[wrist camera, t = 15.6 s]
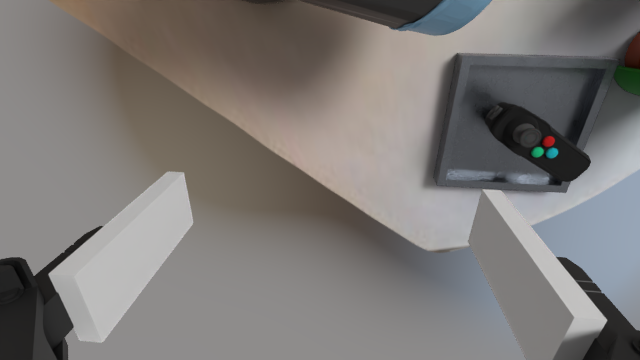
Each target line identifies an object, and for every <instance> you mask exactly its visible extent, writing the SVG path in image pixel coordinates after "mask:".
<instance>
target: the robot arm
mask: <svg viewBox="0 0 640 360" xmlns="http://www.w3.org/2000/svg"><path fill="white" fill-rule="evenodd" d="M243 1H246V2H251V3H257V4H274V3H279V2H282V1H285V0H243ZM299 1H303V2H306V3H310V4H313V5H316V6H320V7H323V8H327V9H330V10H334V11H337V12H341V13H344V14H347V15H351V16H354V17H358V18H361V19H365V20H368V21H372V22H375V23H378V24H382V25H385V26H388V27H389V28H391V29H393V30H399V31H406V30H409V31H414V32H419V33H423V34H428V35H434V36H437V35H445V34H449V33H451V32H454V31H456V30H458V29H460V28H462V27H463V26H465V25H466V24H467V23H469V22H470V21H471V20H473V19H474V18H475V17H476V16H477V15H478V14H479V13H480V12H481V11H482V10H483V9H484V8H485V7H486V6H487V5H488V4H489V3H490V2H491V1H492V0H299ZM192 224H193V218H192V213H191V207H190V202H189V197H188V192H187V186H186V181H185V176H184V173H183V172H167V173H165V174H164V175H163V176H162V177H161V178H160V179H158V180H157V181H156V182H155V183H154V184H153V185H151V186H150V187H149V188H148V189H147V190H146V191H145V192H143V193H142V194H141V195H140V196H139V197H137V198H136V199H135V200H134V201H133V202H132V203H130V204H129V205H128V206H127V207H126V208H125V209H124V210H122V211H121V212H120V213H119V214H118V215H117V216H115V217H114V218H113V219H112V220H111V221H110V222H108V223H107V224H106V225H105V226H99V227H97V228H96V229H94V230H92V231H90V232H88V233H86V234H84V235H83V236H82V237H81V238H80V239H78V240H77V241H76V242H75V243H74V245H71V246H70V247H69V248H67V249H66V250H65V252H64V253H61V254H60V255H59V256H58V257H57V258H55V259H54V260H53V261H52V262H51V263H49V264H48V265H47V266H46V267H44V268H43V269H42V270H41V271H40V272H39V273H37V274H36V275H35V276H33V274H32V272H31V270H30V268H29V266H28V264H27V262H26V260H25V259H22V258H20V257H17V258H13V257H12V258H6V259H1V260H0V360H68V345H67V342H66V340H65V338H64V337H65V336H66V335H67V334H68V333H69V332H70V331H71V330H72V328H74V330H75V332H76V334H77V336H78V339H79V341H89V342H100V343H103V341H104V340H105V339H106V337H107V336H108V335H109V333H110V332H111V331H112V329H113V328H114V327H115V325H116V324H117V323H118V321H119V320H120V319H121V318H122V316H123V315H124V314H125V312H126V311H127V310H128V308H129V307H130V306H131V304H132V303H133V302H134V300H135V299H136V298H137V297H138V295H139V294H140V292H141V291H142V290H143V289H144V287H145V286H146V285H147V283H148V282H149V280H150V279H151V278H152V277H153V275H154V274H155V273H156V272H157V270H158V269H159V268H160V266H161V265H162V263H163V262H164V261H165V260H166V258H167V257H168V256H169V254H170V253H171V252H172V251H173V249H174V248H175V246H176V245H177V244H178V243H179V241H180V240H181V239H182V237H183V236H184V235H185V233H186V232H187V231H188V230H189V228H190V227H191V225H192ZM468 242H469V245H470V247H471V249H472V251H473V253H474V254H475V257H476V259H477V261H478V263H479V265H480V267H481V269H482V271H483V273H484V275H485V277H486V279H487V281H488V283H489V285H490V287H491V289H492V291H493V293H494V295H495V297H496V299H497V301H498V303H499V305H500V307H501V309H502V311H503V313H504V315H505V318H506V319H507V322H508V324H509V326H510V327H511V329H512V331H513V334H514V336H515V338H516V340H517V342H518V344H519V346H520V348H521V350H522V352H523V354H524V356H525V358H526V360H640V331H638V330H636V329H635V328H634V327H633V326H632V325H631V324H630V323H629V322H628V321H627V319H626V318H625V317H624V316H623V315H622V314H621V312H620V311H619V310H618V309H617V308H616V307H615V306H614V305H613V303H612V302H611V301H610V300H609V299H608V298H607V297H606V296H605V294H603V293H601V290H600V289H599V288H598V286H597V285H596V284H595V283H593V282H592V280H591V279H590V278H589V277H588V275H587V274H586V273H585V272H584V271H583V270H582V269H581V268H580V267H579V266H577V265H576V264H574V263H573V262H571V261H570V260H568V259H567V258H563V257H555V256H554V255H553V253H552V252H551V251H550V250H549V248H548V247H547V246H546V245H545V244H544V242H543V241H542V240H541V239H540V237H539V236H538V235H537V234H536V232H535V231H534V230H533V229H532V228H531V226H530V225H529V224H528V223H527V221H526V220H525V219H524V218H523V217H522V215H521V214H520V213H519V212H518V210H517V209H516V208H515V207H514V206H513V204H512V203H511V202H510V201H509V199H508V198H507V197H506V196H505V195H504V193H503V192H502V191H501V190H487V189H482V192H481V196H480V199H479V203H478V207H477V210H476V214H475V218H474V222H473V225H472V229H471V233H470V236H469V240H468Z"/></svg>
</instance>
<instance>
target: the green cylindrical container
mask: <svg viewBox="0 0 640 360" xmlns="http://www.w3.org/2000/svg"><path fill="white" fill-rule="evenodd" d="M624 64H625V67H624V66H617V68H616V71H615V73H614V78H615V80H616V82H617V83H618V85H619V86H620V87H621V88H623V89H624V90H626V91H627V92H629V93H632V94H636V95H639V96H640V32H639V33H638V34H637V35H636V36H635V38H634V39H633V40H632V42H631V43H630V45H629V47H628V49H627V52H626V55H625V61H624Z"/></svg>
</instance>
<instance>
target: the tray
mask: <svg viewBox="0 0 640 360" xmlns="http://www.w3.org/2000/svg"><path fill="white" fill-rule="evenodd" d="M619 61H620V60H619V59H613V58H608V57H588V56H550V55H512V54H473V53H457V57H456V62H455V67H454V73H453V78H452V83H451V88H450V93H449V99H448V104H447V109H446V114H445V120H444V125H443V130H442V135H441V140H440V146H439V151H438V156H437V161H436V167H435V172H434V177H433V178H434V180H435V182H436V184H437V186H454V187H472V188H490V189H508V190H525V191H543V192H561V193H566V192H567V189H568V187H569V184H570V182H571V181H570V182H564V181H560V180H558V179H557V178H555V177H553V176H552V175H550V174H549V173H547V172H545V171H544V170H542V169H541V168H539V167H538V166H536V165H534V164H533V163H531V162H530V161H528V160H526V159H525V158H523V157H522V156H518V155H517V154H515V153H514V152H512V151H511V150H510V149H508V148H507V147H506V146H505V145H503V144H502V143H501V142H500V141H498V140H497V139H496V138H495V137H494V136H493V135H492V133H491V132H490V131H489V129H488V126H487V125H486V124H485V118H486V116H487V114H488V113H489V112H490V111H491V109H492V108H493V107H494V106H496V105H497V104H498V103H500V102H506V103H508V104H515V105H517V106H521V107H523V108H525V109H527V110H528V111H530V112H532V113H533V114H535V115H536V116H538V117H540V118H541V119H543V120H545V121H546V122H547V123H548V124H550V126H551V127H552V128H553V129H555V130H556V131H557V132H558V133H560V134H561V135H562V136H564V137H565V138H566V139H567V140H569V141H570V142H571V143H573V144H574V145H575V146H576V147H578V148H579V149H580V150H582V151H583V150H584V147H585V145H586V142H587V140H588V137H589V135H590V132H591V130H592V128H593V125H594V123H595V120H596V118H597V115H598V113H599V110H600V108H601V105H602V103H603V100H604V98H605V95H606V93H607V91H608V88H609V86H610V83H611V81H612V78H613V76H614V73H615V71H616V68H617V66H618V63H619Z"/></svg>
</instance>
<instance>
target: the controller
mask: <svg viewBox="0 0 640 360" xmlns="http://www.w3.org/2000/svg"><path fill="white" fill-rule="evenodd" d="M485 124H486V125H487V126H488V129H489V131H490V132H491V133H492V135H493V136H494V137H495V138H496V139H497V140H498V141H500V142H501V143H502V144H503V145H505V146H506V147H507V148H508V149H510V150H511V151H512V152H514V153H515V154H517V155H518V156H522V157H523V158H525V159H526V160H528V161H530V162H531V163H533V164H534V165H536V166H538V167H539V168H541V169H542V170H544V171H545V172H547V173H549V174H550V175H552V176H553V177H555V178H557V179H558V180H560V181H564V182H570V181H573V180H574V179H576V178H577V177H578V176H580V175H581V174H582V173H583V172H584V171H585V170H587V168H588V167H589V166H590V163H591V160H590V158H589V156H588V155H587V154H585V153H584V152H583V151H582V150H580V149H579V148H578V147H576V146H575V145H574V144H573V143H571V142H570V141H569V140H567V139H566V138H565V137H564V136H562V135H561V134H560V133H558V132H557V131H556V130H555V129H553V128H552V127H551V126H550V124H548V123H547V122H546V121H545V120H543V119H541V118H540V117H538V116H536V115H535V114H533V113H532V112H530V111H528V110H527V109H525V108H523V107H521V106H517V105H515V104H508V103H506V102H500V103H498V104H497V105H496V106H494V107H493V108H492V109H491V111H490V112H489V113H488V114H487V116H486V118H485Z"/></svg>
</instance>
